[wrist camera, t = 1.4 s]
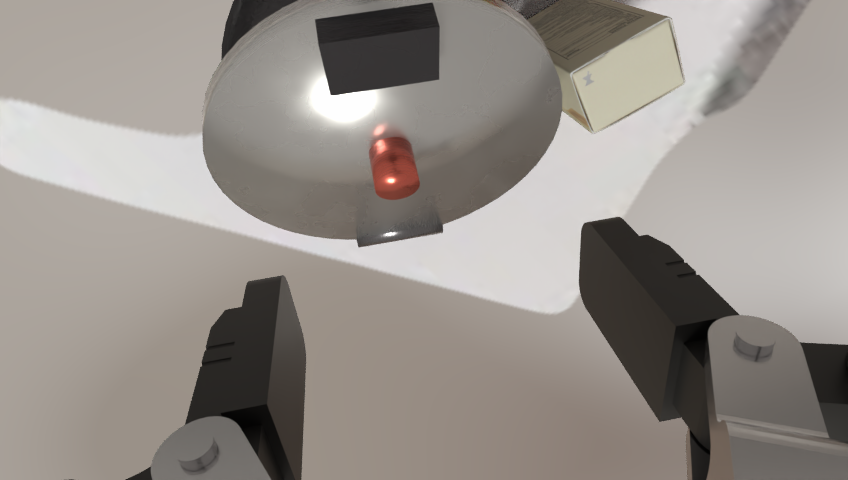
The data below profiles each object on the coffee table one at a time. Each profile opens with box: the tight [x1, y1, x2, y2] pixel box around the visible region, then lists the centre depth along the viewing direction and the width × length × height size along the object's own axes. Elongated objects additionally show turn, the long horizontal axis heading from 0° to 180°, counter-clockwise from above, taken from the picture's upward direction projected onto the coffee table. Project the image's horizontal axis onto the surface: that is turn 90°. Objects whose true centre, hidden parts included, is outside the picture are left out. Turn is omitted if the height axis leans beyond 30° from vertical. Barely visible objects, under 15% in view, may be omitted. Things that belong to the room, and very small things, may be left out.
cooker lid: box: [203, 0, 562, 247], centre depth 26 cm, size 17×16×3 cm
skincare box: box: [527, 0, 685, 134], centre depth 36 cm, size 6×4×12 cm
